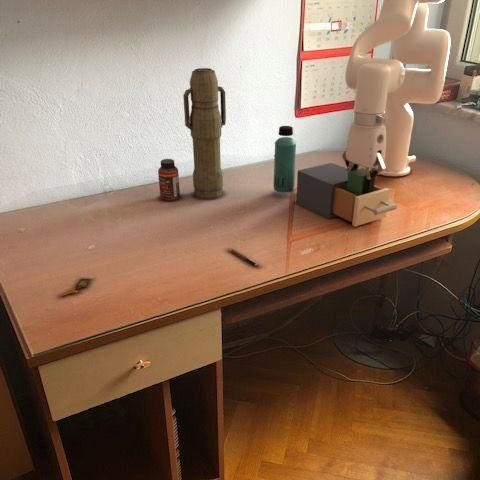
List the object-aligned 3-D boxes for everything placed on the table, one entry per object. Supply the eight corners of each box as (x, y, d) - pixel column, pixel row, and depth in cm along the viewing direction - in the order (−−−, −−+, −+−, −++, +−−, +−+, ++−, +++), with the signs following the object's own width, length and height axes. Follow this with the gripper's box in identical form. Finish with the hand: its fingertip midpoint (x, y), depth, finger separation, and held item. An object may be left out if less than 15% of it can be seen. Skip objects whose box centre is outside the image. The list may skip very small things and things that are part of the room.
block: (360, 186, 146) (362, 168, 143) (373, 191, 142) (375, 172, 139) (346, 189, 143) (348, 171, 141) (359, 195, 140) (361, 176, 137)
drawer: (399, 222, 142) (404, 194, 138) (368, 233, 137) (372, 203, 133) (351, 202, 155) (354, 175, 151) (321, 210, 150) (323, 183, 145)
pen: (259, 267, 124) (259, 263, 123) (256, 268, 124) (256, 264, 123) (231, 250, 132) (231, 246, 131) (228, 251, 131) (228, 247, 131)
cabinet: (362, 208, 153) (366, 175, 148) (329, 218, 147) (332, 184, 142) (328, 194, 163) (331, 162, 158) (296, 202, 157) (297, 170, 152)
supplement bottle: (156, 200, 160) (152, 162, 154) (166, 193, 165) (163, 156, 159) (174, 202, 158) (171, 164, 152) (183, 195, 163) (181, 158, 157)
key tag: (82, 278, 120) (81, 275, 120) (94, 280, 119) (93, 277, 119) (61, 296, 113) (60, 293, 113) (73, 298, 113) (72, 296, 112)
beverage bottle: (294, 190, 166) (297, 123, 155) (294, 198, 160) (297, 129, 149) (273, 190, 166) (275, 123, 155) (272, 197, 161) (274, 129, 150)
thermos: (184, 193, 165) (176, 69, 145) (218, 186, 169) (215, 65, 150) (197, 202, 158) (190, 73, 139) (232, 195, 163) (230, 69, 144)
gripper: (405, 123, 128) (393, 196, 138) (355, 110, 140) (348, 178, 150) (382, 127, 125) (373, 202, 135) (333, 114, 137) (328, 183, 147)
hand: (360, 189), depth 142 cm, fingers closed on block, 5 cm apart
